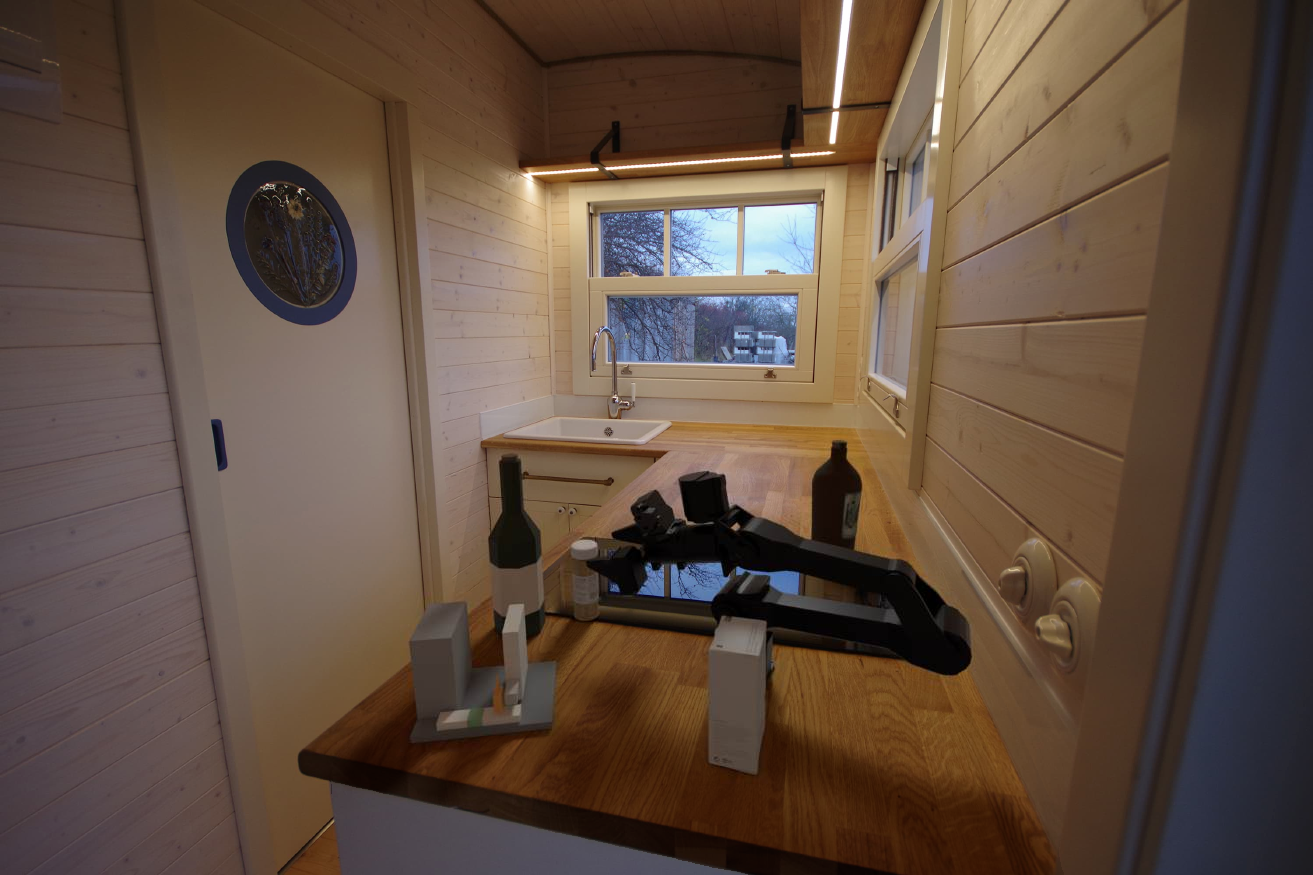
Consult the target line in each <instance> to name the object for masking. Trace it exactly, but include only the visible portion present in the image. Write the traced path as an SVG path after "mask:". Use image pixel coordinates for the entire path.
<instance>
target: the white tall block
mask: <svg viewBox="0 0 1313 875" xmlns="http://www.w3.org/2000/svg"><path fill="white" fill-rule="evenodd" d="M502 637H503V638H502ZM502 637H501V638H502V647H503V648H502V650H503V661H504V665H503V666H505V679H506V689H505V694H504V698H505V705H513V704H517V703H518V700H523V694H524V688H525V681H526V675H527V669H528V648H527V639H526V629H525V613H524V604H515V605H509V608H508V612H507V616H506V620H505V624H504V628H503V632H502Z"/></svg>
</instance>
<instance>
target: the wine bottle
mask: <svg viewBox="0 0 1313 875" xmlns="http://www.w3.org/2000/svg"><path fill="white" fill-rule="evenodd" d="M518 456H519V455H518V453H513V452H512V453H505V454H502V455H501V459H500V460H498V468H499V470H498V471H499V483H500V484H499V485H500V498H501V499H500V500H501V510H502V511H501V514H500V515H499V517H498V518H497V521H496V522H495V523H494V526H493V528H492V530H491V532H490V533H489V535H488V537H487V543H488V554H489V555H488V557H489V568H490V581H491V583H490V584H491V598H492V609H493V610H492V611H493V621H494V622H493V623H494V632H495V633H496V634H497V635H498V636H499V637H500V638H501V639H503V637H502V632H503V628H504V624H505V620H506V616H507V612H508V608H509V605H515V604H524V613H525V629H526V640H527V639H529V638H531V637H534V636H536V635H539V634H540V633H541V632H542V631H543V628H544V626H545V624H546V608H545V606H546V605H545V590H544V574H543V573H544V571H543V554H542V552H543V551H542V536H541V535H542V533H541V530H540V528H539V527H538V526H537V524H536V523H535V521H533V519H532V518H531V516H530V515H529V514H528V512H527V511H526V510H525V506H524V503H525V502H524V488H523V474H522V472H523V471H522V459H521V458H519V457H518Z"/></svg>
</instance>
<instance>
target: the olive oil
mask: <svg viewBox="0 0 1313 875" xmlns="http://www.w3.org/2000/svg"><path fill="white" fill-rule="evenodd" d="M847 446H848V441H847V440H842V439H834V440H832V441H831V447H830V457H829V458H828V459H827V460H826V461H825V462H823V464H822V465H820V466H819V467H818V468H817V469H816V470H815V472H814V474H813V477H812V480H811V528H810V529H811V532H810V533H811V539H810V540H814V541H818V542H822V543H827V544H831V545H835V546H839V547H843V548H847V549H852V550H855V549H856V548H855V546H856V536H857V533H858V523H859V522H858V520H859V515H860V514H859V513H860V506H861V498H862V493H863V482H862V477H861V475H860V473H859V472H858V470H857V469H856V468H855V467H854V466H853V464H852V463H851V462H850V461H849V460H848V458H847V457H848V456H847V455H848V447H847Z"/></svg>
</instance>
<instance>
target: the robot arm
mask: <svg viewBox="0 0 1313 875" xmlns="http://www.w3.org/2000/svg"><path fill="white" fill-rule="evenodd" d="M677 480H678V487H679V491H680V492H679V493H680V497H681V502H682V508H683V513H684V517H685V518H686V519H683V518H681V517H680V518H675V514H674V511H673V510H674V509H673V507H672V506H670V505H669V504H667V502H666V501H665V499H664V497H662V495H661V493H660V492H659V491H658V490H657V489H653V490H650V491H649V492H647V493H645V494H644V495H641V496H639V497H638V498H637V499H636V500H635V502H634V503H632V504H631V506H630V507H629V508H630V512H631V515H632V516H633V522H634V523H632V524H629V525H626V526H624V527H621V528H618V529H616V530H614V531H612V532H611V538H612V539H613V540H617V541H620V542H626V543H631V544H633V545H625V546H623V547H622V546H621V545H619V546H618V547H617V549H615V551H614V552H613V553H612V554H611V555H604V556H599V557H598V556H597V558H593V559H589V560H587V561H586V565H587V567H588V568H590V569H591V570H593V571H595V572H597V573H598V575H601V576H602V577H604V578H606V579H607V580H609V581H611V582H612V583H614V584H615V585H617V587H618V590H619V594H620V596H621V597H623V598H624V597H625V598H626V597H627V598H629V597H631V598H632V597H636V596H637V594H638V593H639V592H640V591H641V589H642V587H643V586H644V584H645V583H646V581H647V580H648V578H649V577H648V574H647V573H648V572H647V570H646V566H647V565H648V564H650V565H651V570H652V571H653V572H655V571H656V572H657V571H660V570H661V568H662V567H663V566H668V565H669V566H670V565H676V567H677V568H676V569H677V570H678V571H685V569H686V568H687V566H688V565H694V564H695V565H696V564H697V565H699V564H700V565H701V564H720V566H721V571H722V576H723V577H724V578H729V576H730V574H731V572H732V571H733V570H735V568H737V567H738V568H740V569H742V570H745V571H744V572H743V573H742V574H736V575H734V576H733V577H731V578H730V579H729V580H728V581H727V582H726V583H725V584H724V585H723V586H722V588H721V589H719V591H718V592H717V594H715V595H714V596H713V598H712V599H711V603H710V611H711V614H712V617H713V618H714V620H715V621H716V623H717V626H719V623H720V620H721V617H722V616H730V617H738V618H746V619H755V620H762V621H766V622H767V624H766V683H767V682H768V680H769V677H770V676H771V673H772V671H773V669H774V667H775V661H774V660H773V638H774V632H773V631H769V630H770V629H773V628H778V629H784V630H788V631H793V632H797V633H804V634H810V635H814V636H818V637H824V638H829V639H834V640H838V641H839V640H840V641H845V642H850V643H855V644H856V643H857V644H860V645H865V646H870V647H871V646H872V647H876V648H881V649H885V650H888V651H890V652H892V653H893V654H895V655H896V656H898V657H900V658H901V659H903V660H904V661H905V662H907V663H908V664H910V665H912V666H915V667H916V668H917V667H918V668H920V669H923V670H926V671H929V672H932V673H933V674H934V673H935V674H937V675H941V676H946V677H947V676H949V677H954V676H958V675H959V674H960V673H962V672H963V671H965V670H967V668H969V666H970V664H971V662H972V659H973V653H972V652H973V651H972V636H971V634H972V633H971V627H970V623H969V622H968V621H969V620H967V617H965V615H963V614H962V612H960V610H959V609H957V608H956V607H954V606H951V605H948V603H947V602H946V601H945V599H944V598H943V597H942V596H941V594H940V593H939V592H938V591H937V590H936V589H935V587H933V586H932V585H931V584H929V583H928V582H927V581H926V580H925V579H923V577H922V576H920V575H919V573H918V572H917V571H916V569H915V568H914V566H913V565H912V564H910V563H909V561H906V560H904V559H901V558H889V557H885V556H884V557H883V556H881V555H880V556H879V555H876V554H871V553H868V552H863V551H859V550H855V549H854V550H852V549H847V548H843V547H839V546H835V545H831V544H827V543H822V542H818V541H814V540H811V539H809V538H805V537H803V536H800V535H799V534H796V533H795V532H793V531H791V530H790V529H789V528H788V527H786V526H785V525H783V524H780V523H778V522H775V521H773V520H770V519H768V518H765V517H761V516H755V515H754V514H752V513H751V512H750V511H747V510H746V509H744V508H742V507H741V506H740V505H738V504H736V503H734V504H733V505H731V506H730V503H729V497H728V490H727V478H726V475H725V473H717V472H713V471H712V472H711V471H709V470H704V471H703V470H702V471H696V472H691V473H687V474H685V475H682V476H679V477H678V479H677ZM687 522H689V523H693V524H687ZM736 524H737V525H738V526H739V527H738V528H736V530H735V529H734V528H733V527H734V526H735V525H736ZM635 545H640V548H638V547H636V546H635ZM749 571H750V572H749ZM751 572H760V573H771V574H772V573H779V572H780V573H781V572H790V573H791V572H792V573H793V572H794V573H798V574H801V575H805V576H810V577H812V578H816V579H820V580H823V581H824V580H825V581H827V582H831V583H835V584H838V585H843V586H846V587H849V588H852V589H856V590H857V589H858V590H860V591H863V592H867V593H870V594H871V593H872V594H874V595H875V594H876V595H878V596H882V597H884V598H885V599H886V600H887V602H888V603H889V604H890V606H891V607H892V608H891V609H888V608H882V607H875V606H870V605H869V606H868V605H863V604H856V603H850V602H844V601H838V600H833V599H825V598H820V597H813V596H806V595H800V594H793V593H787V592H783V591H780V590H778V589H777V588H775V587H774V586H772V585H771V576H770V575H768V574H756V573H755V574H754V573H751Z"/></svg>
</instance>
